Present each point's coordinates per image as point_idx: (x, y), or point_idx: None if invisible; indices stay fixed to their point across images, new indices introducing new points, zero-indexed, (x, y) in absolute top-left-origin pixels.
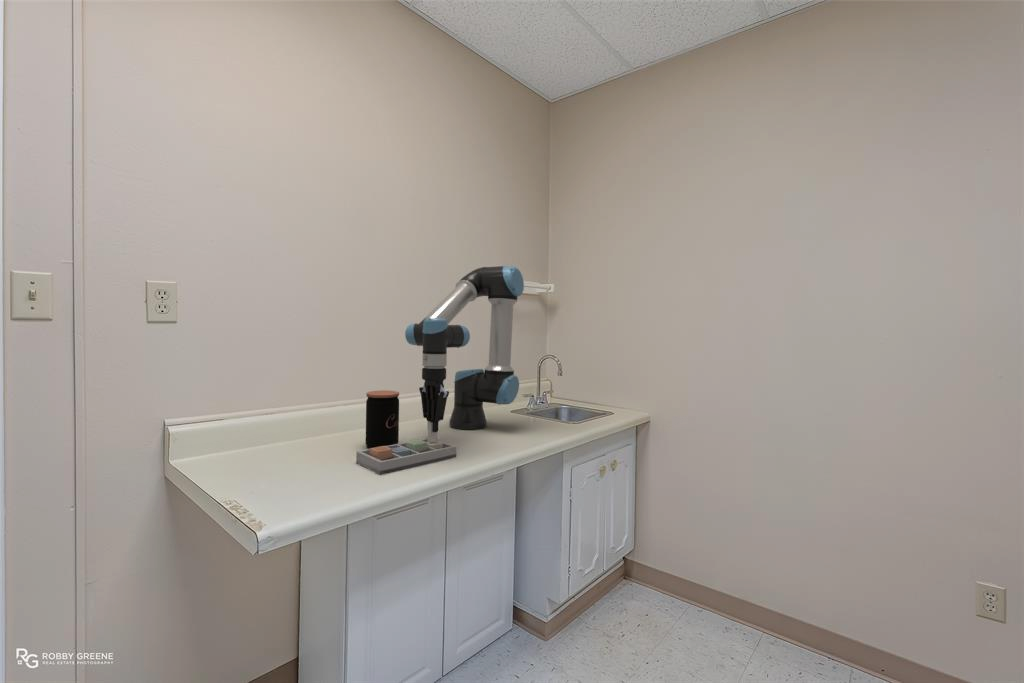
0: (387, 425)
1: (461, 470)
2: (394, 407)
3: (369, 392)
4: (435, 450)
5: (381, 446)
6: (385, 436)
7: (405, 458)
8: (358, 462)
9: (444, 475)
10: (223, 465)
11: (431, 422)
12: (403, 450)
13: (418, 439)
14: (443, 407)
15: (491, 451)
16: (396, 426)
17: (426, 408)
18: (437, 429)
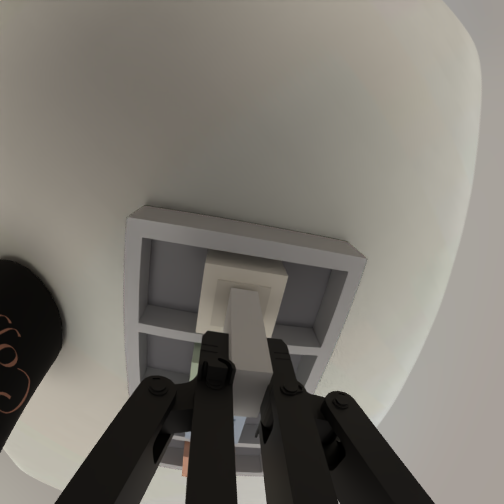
0: (25, 393)
1: (423, 329)
2: None
3: None
4: (325, 359)
5: (186, 461)
6: (45, 368)
7: None
8: None
9: (400, 379)
10: (56, 478)
11: (258, 412)
12: (237, 427)
13: (191, 363)
14: (401, 485)
15: (407, 79)
16: (12, 345)
17: (150, 471)
18: (286, 354)
